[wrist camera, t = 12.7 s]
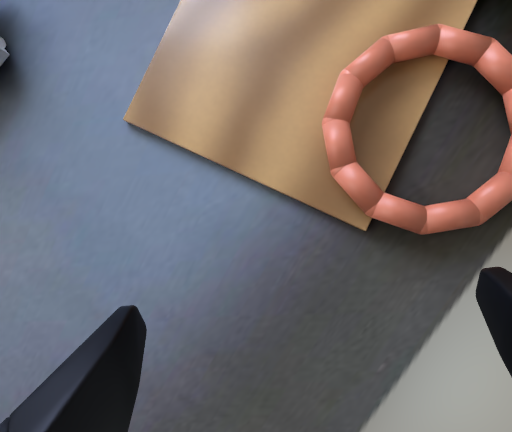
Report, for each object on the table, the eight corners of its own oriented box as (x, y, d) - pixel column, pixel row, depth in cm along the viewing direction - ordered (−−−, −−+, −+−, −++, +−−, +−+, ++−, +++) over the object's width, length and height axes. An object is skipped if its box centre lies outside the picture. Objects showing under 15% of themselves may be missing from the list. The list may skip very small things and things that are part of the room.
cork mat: (495, -37, 20) (498, -43, 19) (365, 231, 20) (365, 231, 19) (236, -107, 23) (234, -113, 23) (125, 121, 23) (122, 119, 23)
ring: (342, 247, 19) (553, 213, 18) (346, 247, 18) (574, 210, 17) (308, 60, 20) (507, 16, 19) (308, 47, 19) (523, -1, 18)
